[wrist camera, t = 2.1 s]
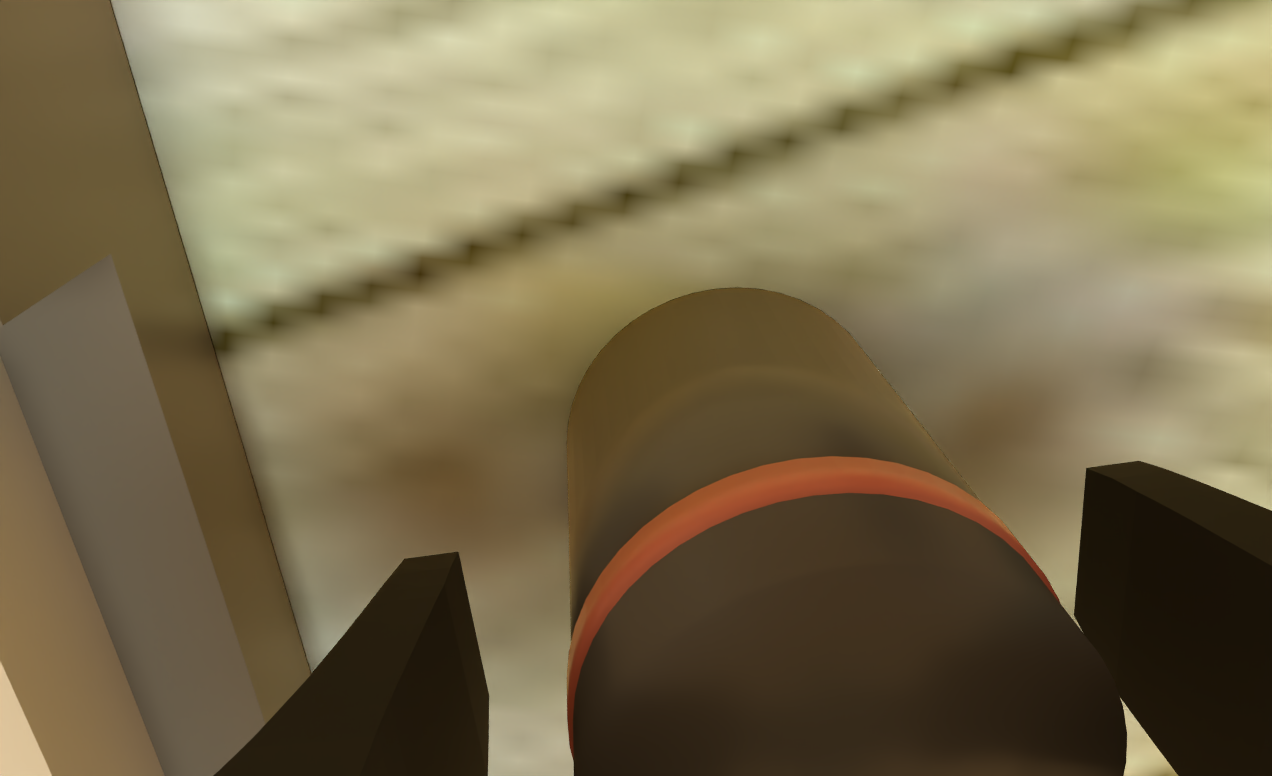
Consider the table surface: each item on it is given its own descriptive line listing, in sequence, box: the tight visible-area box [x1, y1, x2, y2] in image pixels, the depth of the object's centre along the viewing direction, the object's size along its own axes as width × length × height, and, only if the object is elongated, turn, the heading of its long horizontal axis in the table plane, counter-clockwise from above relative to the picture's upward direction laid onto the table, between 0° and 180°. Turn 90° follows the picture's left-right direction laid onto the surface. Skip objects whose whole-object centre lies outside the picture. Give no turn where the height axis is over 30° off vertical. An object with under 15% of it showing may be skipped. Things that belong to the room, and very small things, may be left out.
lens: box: [567, 288, 1127, 776], centre depth 12 cm, size 5×5×7 cm
